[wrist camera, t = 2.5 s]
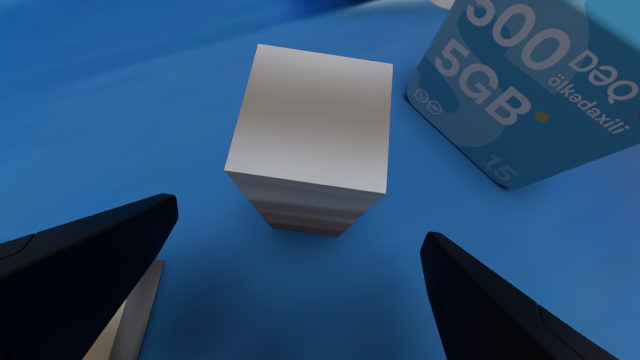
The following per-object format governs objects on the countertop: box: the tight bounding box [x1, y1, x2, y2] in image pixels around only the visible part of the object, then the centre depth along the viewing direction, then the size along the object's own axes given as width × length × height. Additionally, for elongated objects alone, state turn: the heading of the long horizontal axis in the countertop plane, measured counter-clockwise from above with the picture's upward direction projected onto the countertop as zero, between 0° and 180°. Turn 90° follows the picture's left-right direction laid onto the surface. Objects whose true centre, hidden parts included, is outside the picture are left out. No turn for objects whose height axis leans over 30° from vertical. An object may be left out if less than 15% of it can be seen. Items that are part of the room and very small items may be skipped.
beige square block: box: [82, 260, 164, 360], centre depth 15 cm, size 11×11×3 cm
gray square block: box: [224, 44, 393, 237], centre depth 15 cm, size 5×5×12 cm
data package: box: [407, 0, 640, 188], centre depth 17 cm, size 12×4×12 cm, turn 41°
